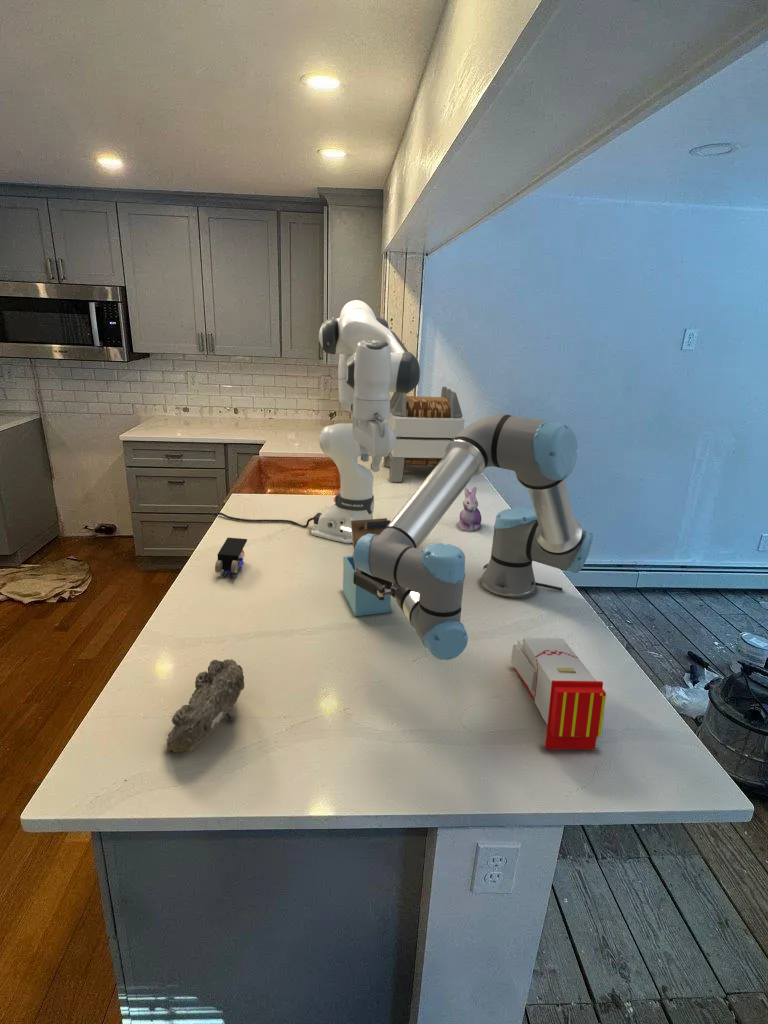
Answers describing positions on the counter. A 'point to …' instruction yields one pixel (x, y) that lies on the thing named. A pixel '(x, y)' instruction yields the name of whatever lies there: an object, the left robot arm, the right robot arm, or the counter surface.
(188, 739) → the fossil
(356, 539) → the lid
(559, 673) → the toy
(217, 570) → the black toy rover
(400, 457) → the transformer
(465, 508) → the figurine
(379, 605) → the chest
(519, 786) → the counter surface
